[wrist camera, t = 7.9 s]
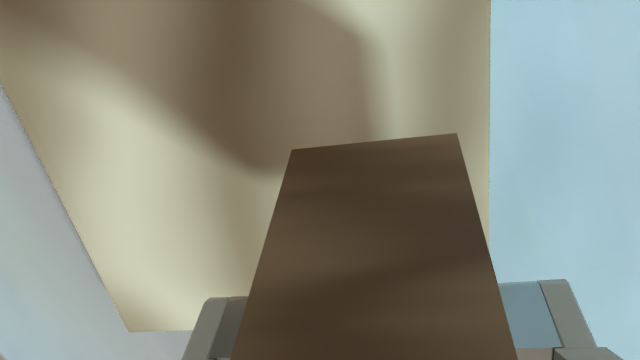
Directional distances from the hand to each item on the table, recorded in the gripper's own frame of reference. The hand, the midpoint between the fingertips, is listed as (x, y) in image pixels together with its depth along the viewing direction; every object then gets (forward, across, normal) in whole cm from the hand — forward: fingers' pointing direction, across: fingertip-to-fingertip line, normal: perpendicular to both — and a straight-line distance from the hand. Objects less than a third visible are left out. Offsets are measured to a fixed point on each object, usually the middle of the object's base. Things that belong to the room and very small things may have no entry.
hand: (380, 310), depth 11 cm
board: (+8, +4, 0) cm, 8 cm away
